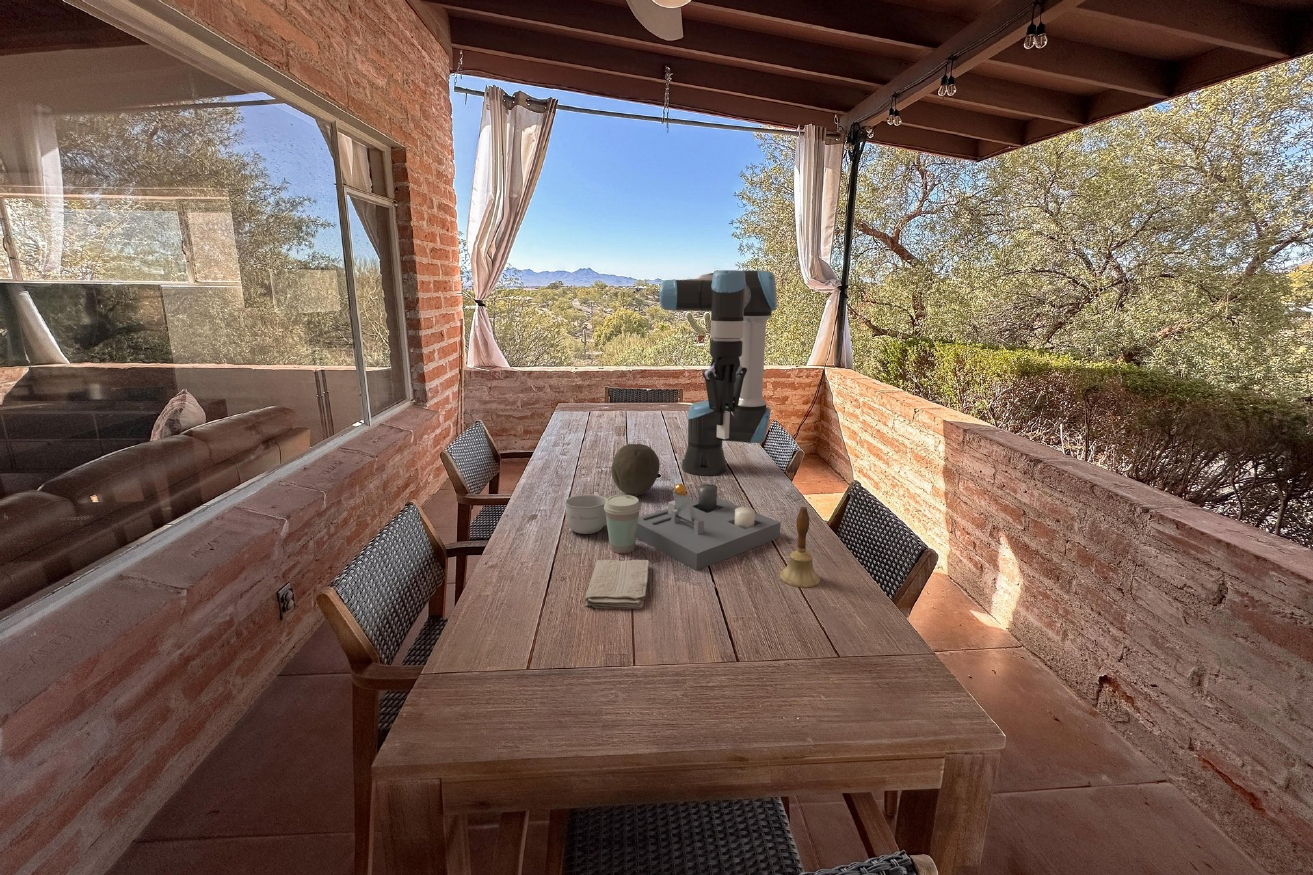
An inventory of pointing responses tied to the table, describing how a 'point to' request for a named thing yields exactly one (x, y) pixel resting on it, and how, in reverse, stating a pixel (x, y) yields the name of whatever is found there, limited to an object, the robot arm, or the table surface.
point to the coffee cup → (622, 522)
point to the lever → (683, 504)
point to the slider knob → (671, 506)
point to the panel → (704, 534)
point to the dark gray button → (707, 497)
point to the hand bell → (800, 558)
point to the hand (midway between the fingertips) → (722, 437)
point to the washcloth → (618, 584)
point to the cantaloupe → (635, 469)
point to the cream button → (744, 517)
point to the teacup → (585, 513)
